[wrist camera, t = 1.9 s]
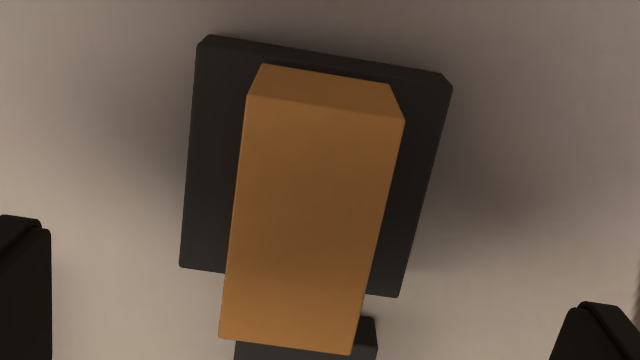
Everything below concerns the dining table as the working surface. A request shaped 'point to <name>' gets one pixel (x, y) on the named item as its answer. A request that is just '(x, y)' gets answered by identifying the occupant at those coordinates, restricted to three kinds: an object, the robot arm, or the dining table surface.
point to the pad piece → (305, 185)
